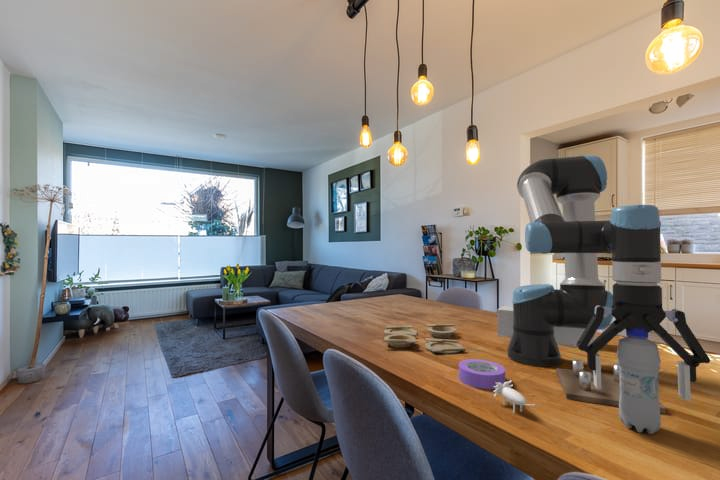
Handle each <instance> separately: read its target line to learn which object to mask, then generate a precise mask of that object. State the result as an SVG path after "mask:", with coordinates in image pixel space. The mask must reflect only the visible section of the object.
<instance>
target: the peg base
mask: <svg viewBox="0 0 720 480" xmlns="http://www.w3.org/2000/svg"><path fill="white" fill-rule="evenodd" d="M589 372H590V371H589ZM555 373H556V376H557V379H558V381H559V383H560V386H561V388H562V391H563V392H564V393H563V394H564V395H565V398H566V399H567V400H573V401H578V402H587V403H592V404H599V405H606V406H613V407H618V408H619V398H620V383H617V382H615V381H614V374H607V373H601V389H597V388H596V387H595V385H594V374H593V372H590V373H591V391H583V390H581V389H579V378H577V377H574V376H573V370H572V369H565V368H557V367H556V368H555ZM659 407H660V414H664V415H665V414H666V407H665V406H663V404H662V403H661V402H660V401H659Z"/></svg>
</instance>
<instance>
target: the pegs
mask: <svg viewBox="0 0 720 480" xmlns="http://www.w3.org/2000/svg"><path fill="white" fill-rule="evenodd" d="M571 364H572V369H571V370H573V376H574V377H577V378H579V389H581V390H583V391H591V373H592V372H591V373H590V371H586V370H584V361H583V360H581V359H575V358H574V359H572V361H571ZM612 366H613V374H612V375H614V381H615V382H617V383H620V377H619V364H618V363H614V364H612Z"/></svg>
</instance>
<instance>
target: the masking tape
mask: <svg viewBox="0 0 720 480" xmlns="http://www.w3.org/2000/svg"><path fill="white" fill-rule="evenodd" d="M458 379H459V381H460V382H461V383H463V384H464V385H467V386H469V387H472V388H475V389H476V388H477V389H483V390H495V389H497V388H494V387H493V386H496V385H497V384H496V383H495V382H497V383H498V382H500V383H502V384H504V383H505V382H506V369H505V367H504V366H503V365H501V364H499V363H497V362H494V361H490V360H485V359H477V358H471V359H470V358H469V359H464V360H462V361H460V362H459V363H458Z"/></svg>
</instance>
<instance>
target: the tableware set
mask: <svg viewBox="0 0 720 480" xmlns="http://www.w3.org/2000/svg"><path fill="white" fill-rule="evenodd" d="M426 327H427V331H428V332H430V333H432V335H433V337H436V338H427V337H426V338H425V339H424V340H425V342H426V343H425V344H424V348H425V349H426V350H428V351H430V352H432V353H439V354H455V353H456V354H457V353H460V352H462V351H466V350H467V349H466V347H465V346H463V345H462V344H460V343H459V340H458V339H446V338H451V336H452V335H453V334H455V333H456V332H457V331H458V329H457V328H455V327H456V323H445V324H444V323H441V324H437V323H436V324H435V323H428V324H426ZM413 328H414V326H413V325H410V324H409V325H403V326H402V325H401V326H396V325H395V326H384V331H383V332H384V334H385V336H384V338H383V339H382V342H383V343H388V344H390V346H391V347H393V348H397V349H404V348H409V347H411V344H413V343H418V339H416V338H417V336H418V331H417V330H416V329H413Z"/></svg>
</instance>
